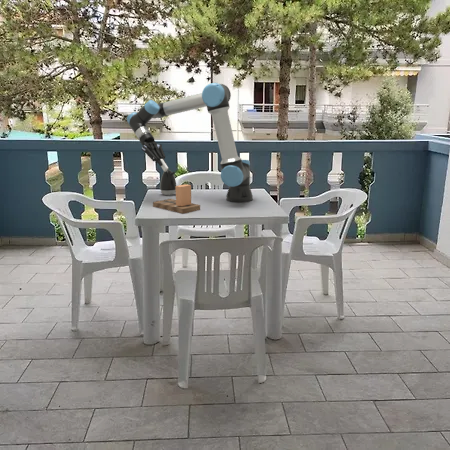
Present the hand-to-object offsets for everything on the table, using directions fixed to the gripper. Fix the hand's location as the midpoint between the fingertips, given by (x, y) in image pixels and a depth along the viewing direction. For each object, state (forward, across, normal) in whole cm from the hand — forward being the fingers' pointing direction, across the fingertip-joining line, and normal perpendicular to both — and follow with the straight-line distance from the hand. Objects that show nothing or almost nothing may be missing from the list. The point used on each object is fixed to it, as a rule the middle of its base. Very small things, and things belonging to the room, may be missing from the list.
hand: (166, 169), depth 237 cm
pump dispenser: (-2, -20, -30) cm, 36 cm away
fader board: (+20, +1, -8) cm, 21 cm away
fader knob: (+22, +1, -2) cm, 22 cm away
